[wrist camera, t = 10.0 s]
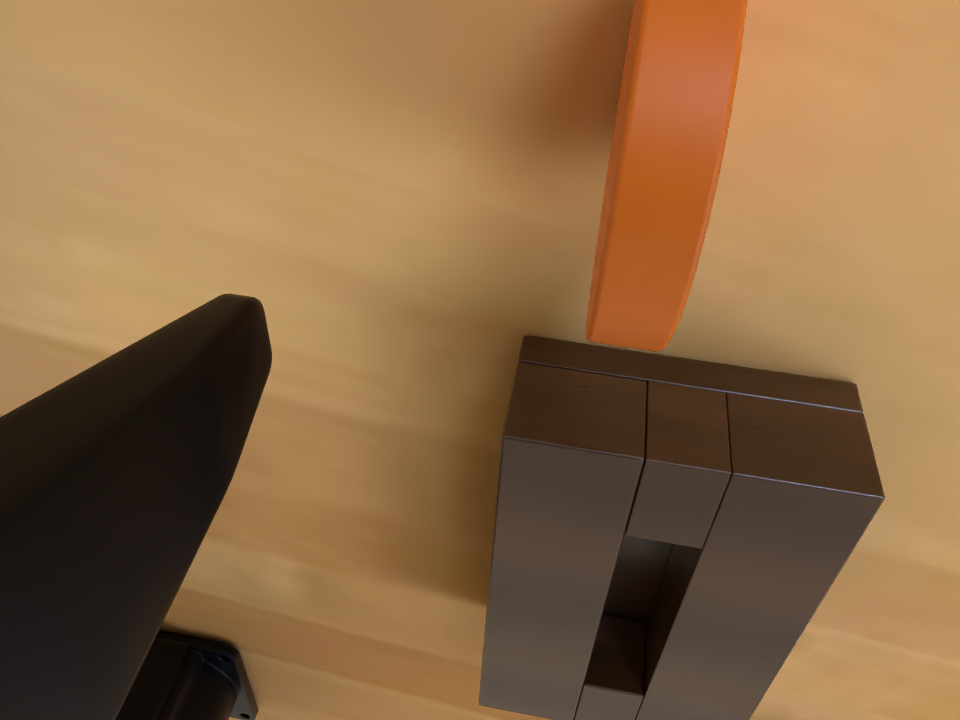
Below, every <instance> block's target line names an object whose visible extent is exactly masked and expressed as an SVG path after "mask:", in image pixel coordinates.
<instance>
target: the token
mask: <svg viewBox="0 0 960 720" xmlns="http://www.w3.org/2000/svg"><path fill="white" fill-rule="evenodd" d="M746 6H747V0H635V3H634V9H633V15H632V20H631V26H630V33H629V39H628V45H627V51H626V57H625V63H624V69H623V75H622V82H621V88H620V94H619V101H618V107H617V113H616V120H615V126H614V132H613V139H612V145H611V152H610V158H609V165H608V171H607V178H606V185H605V191H604V198H603V205H602V212H601V218H600V225H599V232H598V239H597V246H596V253H595V260H594V268H593V275H592V282H591V290H590V298H589V306H588V314H587V324H586V337H587V340H589V341H590V342H594V343H601V344H608V345H615V346H622V347H629V348H636V349H642V350H649V351H659V350H662V349H664V348H665V346H666V345H667V344H668V342H669V341H670V339H671V337H672V335H673V333H674V332H675V330H676V327H677V325H678V322H679V320H680V318H681V315H682V312H683V309H684V307H685V304H686V301H687V298H688V295H689V292H690V288H691V285H692V282H693V279H694V275H695V272H696V268H697V265H698V261H699V257H700V254H701V250H702V246H703V242H704V238H705V234H706V230H707V226H708V222H709V218H710V213H711V209H712V205H713V200H714V196H715V192H716V187H717V182H718V177H719V173H720V168H721V163H722V158H723V153H724V148H725V143H726V138H727V132H728V127H729V122H730V116H731V110H732V104H733V98H734V93H735V87H736V81H737V74H738V67H739V61H740V54H741V47H742V39H743V31H744V23H745V15H746Z"/></svg>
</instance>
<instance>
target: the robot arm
mask: <svg viewBox="0 0 960 720" xmlns="http://www.w3.org/2000/svg"><path fill="white" fill-rule="evenodd" d="M271 362H272V351H271V345H270V339H269V334H268V329H267V323H266V318H265V312H264V308H263V305H262V303H261V302H260V301H259V300H258V299H256V298H254V297H249V296H242V295H235V294H223V295H220V296H218V297H216V298H215V299H213V300H211V301H209V302H207V303H206V304H204V305H202V306H200V307H198V308H196V309H195V310H193V311H191V312H189V313H187V314H186V315H184V316H182V317H180V318H178V319H177V320H175V321H173V322H171V323H169V324H168V325H166V326H164V327H162V328H160V329H159V330H157V331H155V332H153V333H151V334H150V335H148V336H146V337H144V338H142V339H141V340H139V341H137V342H135V343H133V344H132V345H130V346H128V347H126V348H124V349H123V350H121V351H119V352H117V353H115V354H114V355H112V356H110V357H108V358H106V359H105V360H103V361H101V362H99V363H97V364H96V365H94V366H92V367H90V368H88V369H87V370H85V371H83V372H81V373H79V374H78V375H76V376H74V377H72V378H70V379H69V380H67V381H65V382H63V383H61V384H60V385H58V386H56V387H54V388H52V389H51V390H49V391H47V392H45V393H43V394H42V395H40V396H38V397H36V398H34V399H33V400H31V401H29V402H27V403H25V404H24V405H22V406H20V407H18V408H16V409H14V410H13V411H11V412H9V413H7V414H5V415H4V416H2V417H0V720H228V719H229V717H232V718H237V719H242V720H255V718H256V715H257V713H258V707H257V704H256V701H255V698H254V695H253V692H252V689H251V686H250V683H249V680H248V677H247V674H246V671H245V668H244V665H243V662H242V659H241V656H240V653H239V651H238V650H237V649H236V648H234V647H232V646H230V645H226V644H221V643H216V642H211V641H206V640H201V639H196V638H191V637H185V636H180V635H175V634H170V633H165V632H160V631H159V629H160V627H161V625H162V623H163V621H164V619H165V617H166V615H167V612H168V610H169V608H170V606H171V604H172V602H173V600H174V598H175V596H176V594H177V592H178V590H179V588H180V586H181V584H182V582H183V580H184V578H185V576H186V574H187V572H188V569H189V567H190V565H191V563H192V561H193V559H194V557H195V555H196V553H197V551H198V549H199V547H200V545H201V543H202V541H203V539H204V537H205V535H206V533H207V531H208V529H209V526H210V524H211V522H212V520H213V518H214V516H215V514H216V512H217V510H218V508H219V506H220V504H221V502H222V500H223V498H224V496H225V493H226V491H227V489H228V487H229V484H230V482H231V480H232V477H233V475H234V472H235V469H236V467H237V464H238V461H239V458H240V456H241V453H242V450H243V447H244V444H245V441H246V438H247V435H248V433H249V430H250V427H251V424H252V421H253V418H254V415H255V412H256V410H257V407H258V404H259V401H260V398H261V395H262V392H263V389H264V387H265V384H266V381H267V378H268V375H269V372H270V368H271Z"/></svg>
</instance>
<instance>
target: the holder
mask: <svg viewBox="0 0 960 720" xmlns="http://www.w3.org/2000/svg"><path fill="white" fill-rule="evenodd" d="M884 498H885V496H884V492H883V488H882V484H881V480H880V476H879V472H878V468H877V464H876V460H875V456H874V452H873V449H872V445H871V441H870V437H869V433H868V429H867V425H866V421H865V417H864V414H863V409H862V405H861V401H860V398H859V394H858V390H857V386H856V384H854V383H848V382H841V381H834V380H827V379H821V378H814V377H807V376H800V375H793V374H787V373H780V372H773V371H766V370H759V369H752V368H746V367H739V366H732V365H725V364H718V363H711V362H705V361H698V360H691V359H684V358H677V357H671V356H664V355H657V354H650V353H643V352H636V351H630V350H623V349H616V348H609V347H602V346H596V345H589V344H582V343H575V342H568V341H561V340H555V339H548V338H541V337H534V336H527V335H525V336H524V337H523V339H522V344H521V348H520V353H519V357H518V364H517V367H516V372H515V376H514V381H513V385H512V390H511V395H510V399H509V404H508V408H507V413H506V418H505V422H504V427H503V431H502V436H501V447H500V459H499V471H498V482H497V494H496V506H495V518H494V529H493V541H492V553H491V565H490V576H489V588H488V600H487V611H486V623H485V635H484V647H483V658H482V670H481V682H480V694H479V705H481V706H486V707H491V708H496V709H501V710H506V711H511V712H516V713H521V714H526V715H531V716H536V717H541V718H546V719H551V720H749V719H750V717H751V715H752V714H753V712H754V711H755V709H756V707H757V706H758V704H759V702H760V701H761V699H762V697H763V696H764V694H765V693H766V691H767V689H768V688H769V686H770V684H771V683H772V681H773V680H774V678H775V676H776V675H777V673H778V671H779V670H780V668H781V667H782V665H783V663H784V662H785V660H786V658H787V657H788V655H789V654H790V652H791V650H792V649H793V647H794V645H795V644H796V642H797V640H798V639H799V637H800V636H801V634H802V632H803V631H804V629H805V627H806V626H807V624H808V623H809V621H810V619H811V618H812V616H813V614H814V613H815V611H816V610H817V608H818V606H819V605H820V603H821V601H822V600H823V598H824V597H825V595H826V593H827V592H828V590H829V588H830V587H831V585H832V583H833V582H834V580H835V579H836V577H837V575H838V574H839V572H840V570H841V569H842V567H843V566H844V564H845V562H846V561H847V559H848V557H849V556H850V554H851V553H852V551H853V549H854V548H855V546H856V544H857V543H858V541H859V540H860V538H861V536H862V535H863V533H864V531H865V530H866V528H867V526H868V525H869V523H870V522H871V520H872V518H873V517H874V515H875V513H876V512H877V510H878V509H879V507H880V505H881V504H882V502H883V500H884Z"/></svg>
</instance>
